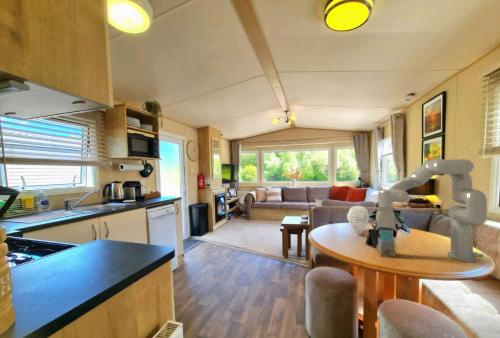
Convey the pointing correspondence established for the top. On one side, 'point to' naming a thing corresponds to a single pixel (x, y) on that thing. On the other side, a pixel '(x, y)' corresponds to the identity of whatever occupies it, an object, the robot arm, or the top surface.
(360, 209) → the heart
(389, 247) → the grey squat block
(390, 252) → the grey square block
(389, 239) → the teal block
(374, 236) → the door stopper
